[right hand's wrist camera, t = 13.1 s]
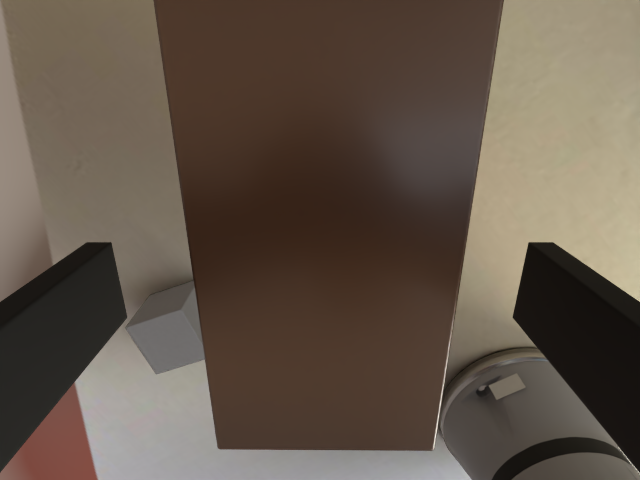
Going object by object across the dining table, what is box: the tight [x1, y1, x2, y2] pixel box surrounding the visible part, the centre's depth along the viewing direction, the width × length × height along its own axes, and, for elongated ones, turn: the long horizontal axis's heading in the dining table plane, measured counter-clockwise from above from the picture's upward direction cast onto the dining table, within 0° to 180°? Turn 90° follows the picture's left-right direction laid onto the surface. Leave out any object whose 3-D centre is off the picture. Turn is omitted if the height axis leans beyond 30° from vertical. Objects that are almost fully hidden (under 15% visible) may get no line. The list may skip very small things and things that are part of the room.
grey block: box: [125, 280, 205, 374], centre depth 34 cm, size 5×5×5 cm
